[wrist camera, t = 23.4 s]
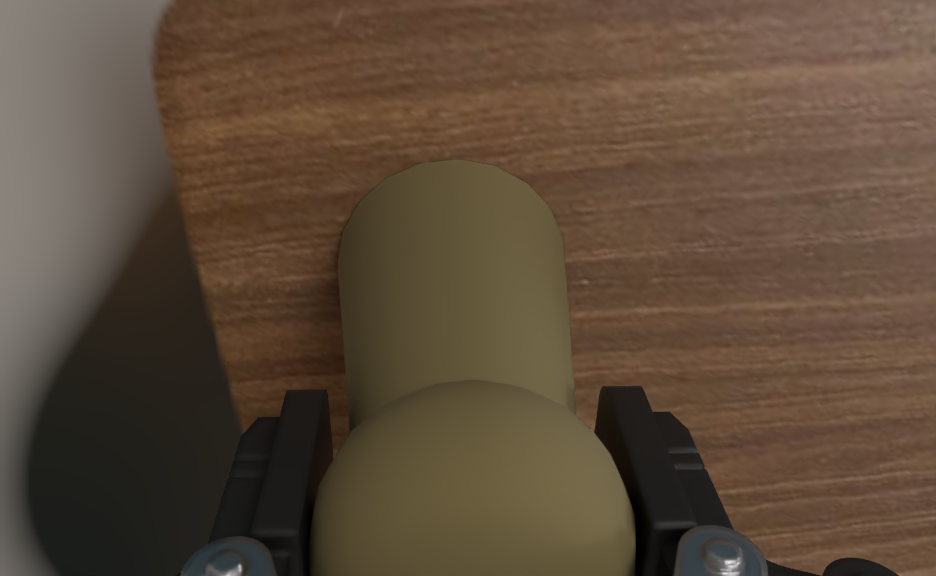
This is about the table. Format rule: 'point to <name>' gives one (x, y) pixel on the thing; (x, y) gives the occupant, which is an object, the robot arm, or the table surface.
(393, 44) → the table surface
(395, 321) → the chess pawn figurine
